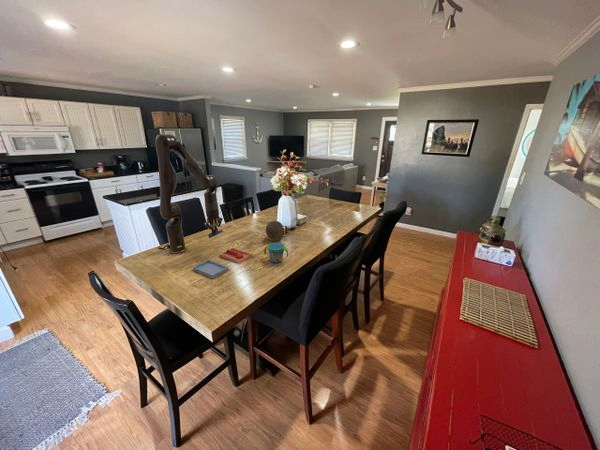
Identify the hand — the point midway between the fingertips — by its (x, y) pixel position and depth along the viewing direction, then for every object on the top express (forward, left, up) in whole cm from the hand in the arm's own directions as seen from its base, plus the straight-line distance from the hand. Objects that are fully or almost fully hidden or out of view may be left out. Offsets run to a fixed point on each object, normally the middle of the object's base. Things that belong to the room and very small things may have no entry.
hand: (215, 234), depth 152 cm
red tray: (+11, +5, -15) cm, 19 cm away
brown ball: (+17, +40, -15) cm, 46 cm away
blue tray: (+11, -15, -15) cm, 24 cm away
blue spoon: (+1, 0, 0) cm, 1 cm away
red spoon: (+11, +5, -15) cm, 19 cm away
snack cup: (+37, +15, -15) cm, 43 cm away
